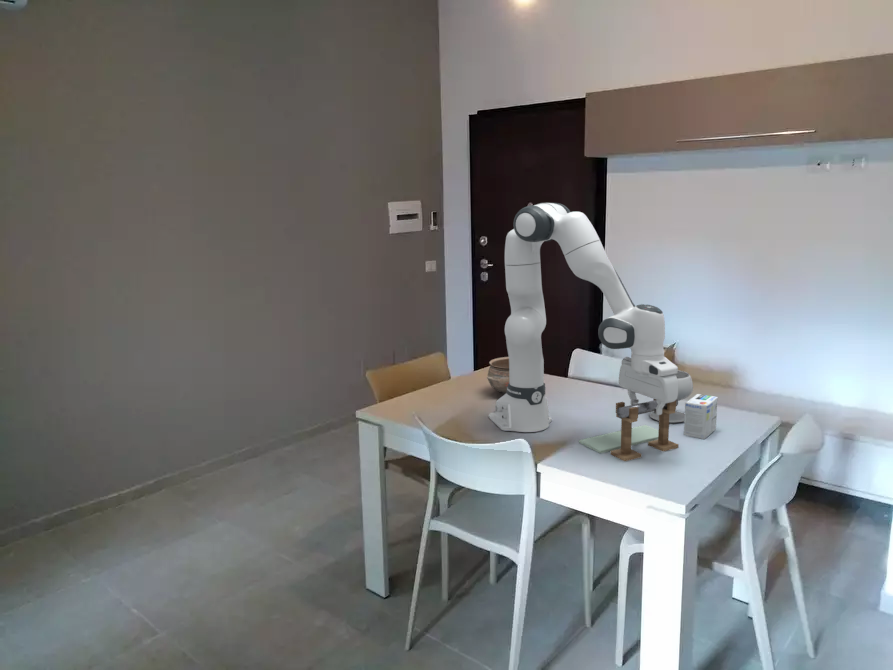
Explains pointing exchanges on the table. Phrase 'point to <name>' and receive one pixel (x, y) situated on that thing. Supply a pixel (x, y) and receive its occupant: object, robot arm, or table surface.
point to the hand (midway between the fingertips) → (645, 409)
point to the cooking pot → (499, 374)
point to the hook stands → (659, 444)
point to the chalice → (679, 396)
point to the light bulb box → (700, 416)
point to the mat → (614, 439)
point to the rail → (640, 408)
